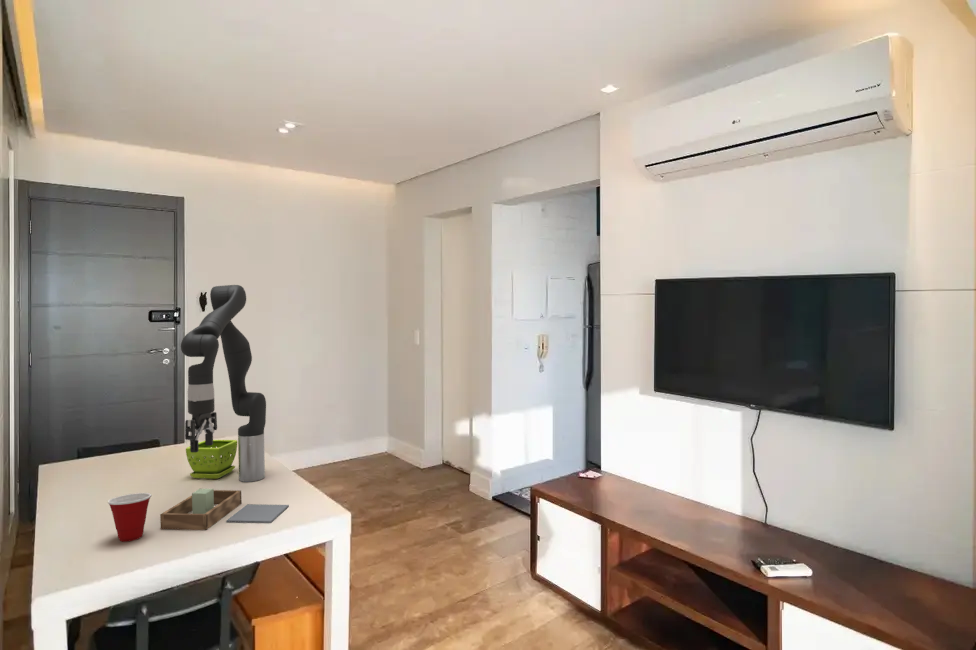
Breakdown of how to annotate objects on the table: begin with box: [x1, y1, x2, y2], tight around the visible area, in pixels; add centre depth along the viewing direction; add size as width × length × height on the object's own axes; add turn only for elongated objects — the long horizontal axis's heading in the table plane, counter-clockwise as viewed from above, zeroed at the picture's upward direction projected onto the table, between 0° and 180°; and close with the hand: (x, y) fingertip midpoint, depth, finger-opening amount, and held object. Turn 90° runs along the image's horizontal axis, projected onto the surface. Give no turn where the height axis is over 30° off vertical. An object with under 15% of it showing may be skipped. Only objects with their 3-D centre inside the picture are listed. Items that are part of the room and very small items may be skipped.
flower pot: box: [185, 439, 238, 480], centre depth 222 cm, size 14×14×13 cm
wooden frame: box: [159, 489, 242, 531], centre depth 180 cm, size 22×14×4 cm, turn 178°
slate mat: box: [225, 503, 290, 524], centre depth 182 cm, size 14×14×1 cm
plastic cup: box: [106, 492, 152, 542], centre depth 164 cm, size 11×11×12 cm
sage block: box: [191, 488, 215, 514], centre depth 180 cm, size 4×4×8 cm
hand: (202, 448), depth 179 cm, fingers open, 8 cm apart
